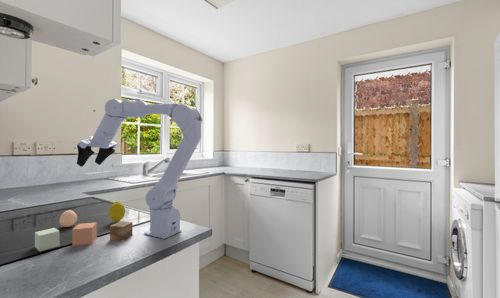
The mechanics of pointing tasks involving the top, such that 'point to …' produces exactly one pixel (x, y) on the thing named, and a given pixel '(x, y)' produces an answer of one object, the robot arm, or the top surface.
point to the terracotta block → (84, 234)
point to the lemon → (116, 211)
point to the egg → (68, 218)
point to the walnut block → (121, 231)
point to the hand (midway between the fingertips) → (88, 164)
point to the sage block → (47, 239)
